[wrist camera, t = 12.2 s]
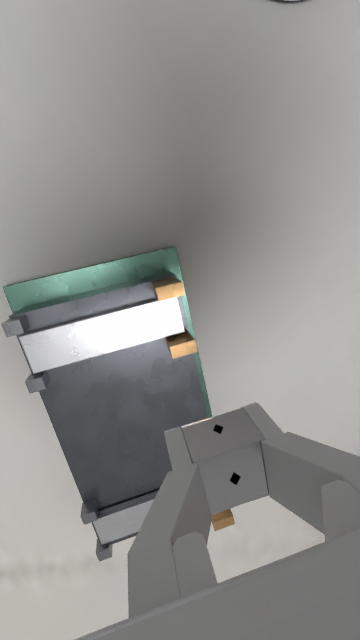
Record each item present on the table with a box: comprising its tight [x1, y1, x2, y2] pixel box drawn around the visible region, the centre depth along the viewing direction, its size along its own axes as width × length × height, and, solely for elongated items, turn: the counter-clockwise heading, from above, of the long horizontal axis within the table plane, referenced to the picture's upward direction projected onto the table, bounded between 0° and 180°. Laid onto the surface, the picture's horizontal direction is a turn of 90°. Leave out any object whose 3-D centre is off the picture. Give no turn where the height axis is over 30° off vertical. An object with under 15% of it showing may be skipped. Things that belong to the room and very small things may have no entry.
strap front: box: [19, 297, 185, 374], centre depth 23 cm, size 3×12×1 cm, turn 103°
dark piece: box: [2, 247, 235, 561], centre depth 27 cm, size 28×15×7 cm, turn 13°
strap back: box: [93, 490, 159, 545], centre depth 28 cm, size 3×12×1 cm, turn 103°
